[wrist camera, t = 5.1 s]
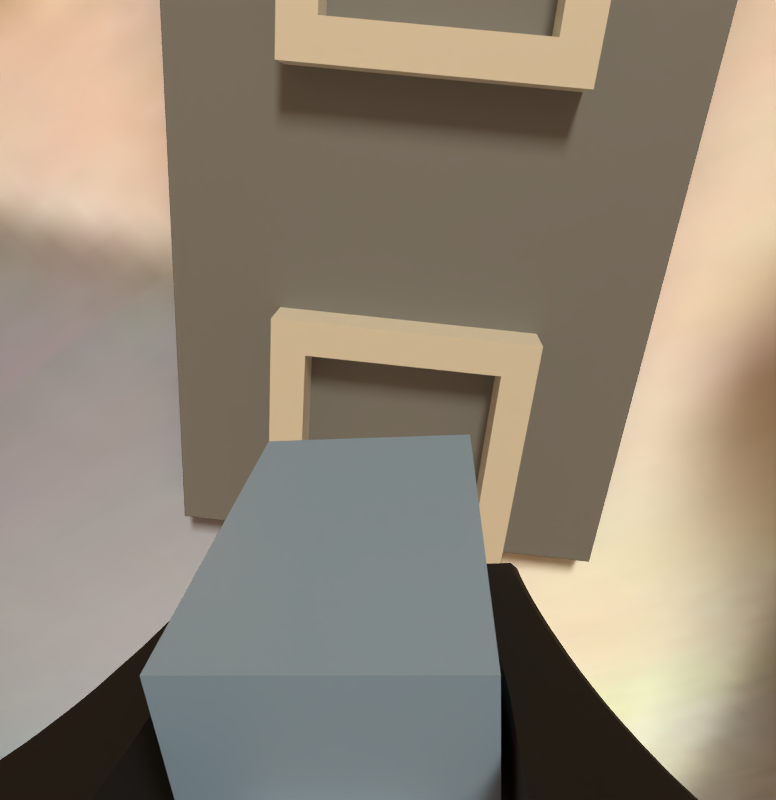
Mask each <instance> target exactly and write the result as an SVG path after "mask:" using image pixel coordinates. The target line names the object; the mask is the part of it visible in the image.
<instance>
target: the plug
mask: <svg viewBox="0 0 776 800" xmlns="http://www.w3.org/2000/svg"><path fill="white" fill-rule="evenodd" d="M140 679H141V683H142V686H143V690H144V693H145V697H146V700H147V704H148V707H149V711H150V714H151V718H152V721H153V725H154V729H155V732H156V736H157V739H158V743H159V746H160V750H161V753H162V757H163V760H164V764H165V767H166V771H167V775H168V778H169V782H170V785H171V789H172V792H173V796H174V799H175V800H501V673H500V665H499V657H498V649H497V641H496V633H495V626H494V618H493V610H492V602H491V594H490V587H489V579H488V571H487V563H486V555H485V548H484V540H483V532H482V524H481V516H480V509H479V501H478V493H477V485H476V477H475V469H474V462H473V454H472V446H471V438H470V434H469V435H440V436H410V437H380V438H351V439H321V440H291V441H269V442H268V444H267V445H266V447H265V449H264V451H263V453H262V454H261V456H260V458H259V460H258V462H257V463H256V465H255V467H254V469H253V471H252V473H251V474H250V476H249V478H248V480H247V482H246V483H245V485H244V487H243V489H242V491H241V492H240V494H239V496H238V498H237V500H236V502H235V503H234V505H233V507H232V509H231V511H230V512H229V514H228V516H227V518H226V520H225V521H224V523H223V525H222V527H221V529H220V531H219V532H218V534H217V536H216V538H215V540H214V541H213V543H212V545H211V547H210V549H209V551H208V552H207V554H206V556H205V558H204V560H203V561H202V563H201V565H200V567H199V569H198V570H197V572H196V574H195V576H194V578H193V580H192V581H191V583H190V585H189V587H188V589H187V590H186V592H185V594H184V596H183V598H182V599H181V601H180V603H179V605H178V607H177V609H176V610H175V612H174V614H173V616H172V618H171V619H170V621H169V623H168V625H167V627H166V628H165V630H164V632H163V634H162V636H161V638H160V639H159V641H158V643H157V645H156V647H155V648H154V650H153V652H152V654H151V656H150V657H149V659H148V661H147V663H146V665H145V667H144V668H143V670H142V672H141V674H140Z"/></svg>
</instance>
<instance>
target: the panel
mask: <svg viewBox="0 0 776 800" xmlns="http://www.w3.org/2000/svg"><path fill="white" fill-rule="evenodd" d="M736 4H737V0H160V11H161V31H162V52H163V73H164V93H165V114H166V135H167V155H168V176H169V197H170V217H171V238H172V259H173V279H174V300H175V321H176V341H177V362H178V382H179V403H180V424H181V444H182V465H183V486H184V506H185V516H191V517H200V518H209V519H218V520H226V518H227V516H228V514H229V512H230V511H231V509H232V507H233V505H234V503H235V502H236V500H237V498H238V496H239V494H240V492H241V491H242V489H243V487H244V485H245V483H246V482H247V480H248V478H249V476H250V474H251V473H252V471H253V469H254V467H255V465H256V463H257V462H258V460H259V458H260V456H261V454H262V453H263V451H264V449H265V447H266V445H267V444H268V442H269V441H291V440H321V439H351V438H380V437H410V436H440V435H469V434H470V438H471V446H472V454H473V462H474V469H475V477H476V485H477V493H478V501H479V509H480V516H481V524H482V532H483V540H484V548H485V555H486V563H487V564H492V563H501V559H502V554H503V552H508V553H517V554H526V555H535V556H543V557H552V558H561V559H570V560H579V561H587V562H589V559H590V555H591V551H592V548H593V544H594V540H595V536H596V532H597V529H598V525H599V521H600V517H601V514H602V510H603V506H604V502H605V499H606V495H607V491H608V487H609V483H610V480H611V476H612V472H613V468H614V465H615V461H616V457H617V453H618V449H619V446H620V442H621V438H622V434H623V431H624V427H625V423H626V419H627V415H628V412H629V408H630V404H631V400H632V397H633V393H634V389H635V385H636V382H637V378H638V374H639V370H640V366H641V363H642V359H643V355H644V351H645V348H646V344H647V340H648V336H649V332H650V329H651V325H652V321H653V317H654V314H655V310H656V306H657V302H658V299H659V295H660V291H661V287H662V283H663V280H664V276H665V272H666V268H667V265H668V261H669V257H670V253H671V249H672V246H673V242H674V238H675V234H676V231H677V227H678V223H679V219H680V216H681V212H682V208H683V204H684V200H685V197H686V193H687V189H688V185H689V182H690V178H691V174H692V170H693V166H694V163H695V159H696V155H697V151H698V148H699V144H700V140H701V136H702V132H703V129H704V125H705V121H706V117H707V114H708V110H709V106H710V102H711V99H712V95H713V91H714V87H715V83H716V80H717V76H718V72H719V68H720V65H721V61H722V57H723V53H724V49H725V46H726V42H727V38H728V34H729V31H730V27H731V23H732V19H733V16H734V12H735V8H736Z"/></svg>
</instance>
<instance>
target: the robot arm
mask: <svg viewBox="0 0 776 800" xmlns="http://www.w3.org/2000/svg"><path fill="white" fill-rule="evenodd" d="M487 571H488V579H489V587H490V594H491V602H492V610H493V618H494V626H495V633H496V641H497V649H498V657H499V665H500V673H501V800H698V799H697V798H696V797H695V796H694V795H693V794H691V793H690V792H689V791H688V790H687V789H686V788H685V787H684V786H683V785H682V784H681V783H680V782H679V781H678V780H676V779H675V778H674V777H673V776H672V775H671V774H670V773H669V772H668V771H667V770H666V769H665V768H664V767H663V766H662V765H661V764H660V763H659V762H658V760H657V759H656V758H655V757H654V756H653V755H652V754H651V753H650V752H649V751H648V750H647V749H646V748H645V747H644V746H643V745H642V744H641V743H640V742H639V741H638V739H637V738H636V737H635V736H634V735H633V734H632V733H631V732H630V731H629V729H628V728H627V727H626V726H625V725H624V724H623V723H622V722H621V721H620V719H619V718H618V717H617V716H616V715H615V714H614V712H613V711H612V710H611V709H610V708H609V707H608V705H607V704H606V703H605V702H604V700H603V699H602V698H601V697H600V696H599V694H598V693H597V692H596V691H595V689H594V688H593V687H592V685H591V684H590V683H589V682H588V680H587V679H586V678H585V676H584V675H583V674H582V673H581V671H580V670H579V669H578V667H577V666H576V665H575V663H574V662H573V660H572V659H571V658H570V656H569V655H568V653H567V652H566V651H565V649H564V648H563V646H562V645H561V643H560V642H559V640H558V639H557V637H556V636H555V635H554V633H553V632H552V630H551V629H550V627H549V626H548V624H547V622H546V621H545V619H544V618H543V616H542V614H541V613H540V611H539V609H538V608H537V606H536V604H535V603H534V601H533V599H532V598H531V596H530V594H529V592H528V590H527V589H526V587H525V585H524V583H523V581H522V579H521V577H520V574H519V572H518V570H517V568H516V567H515V566H514V565H512V564H511V563H492V564H487ZM168 623H169V622H168ZM168 623H167V624H166V625H165V626H164V627H163V628H162V629H161V630H160V631H158V632H157V633H156V634H155V635H154V636H153V637H152V638H151V639H150V640H149V641H148V642H147V643H146V644H145V645H144V646H143V647H142V648H141V649H140V650H138V651H137V652H136V653H135V654H134V655H133V656H132V657H131V658H129V659H128V660H127V661H126V662H125V663H124V664H123V665H122V666H120V667H119V668H118V669H117V670H116V671H115V672H114V673H113V674H111V675H110V676H109V677H108V678H107V679H106V680H105V681H104V682H102V683H101V684H100V685H99V686H98V687H97V688H96V689H94V690H93V691H92V692H91V693H90V694H88V695H87V696H86V697H85V698H84V699H82V700H81V701H80V702H79V703H77V704H76V705H75V706H74V707H72V708H71V709H70V710H69V711H67V712H66V713H65V714H63V715H62V716H61V717H59V718H58V719H57V720H55V721H54V722H53V723H51V724H50V725H49V726H48V727H46V728H45V729H44V730H42V731H41V732H40V733H38V734H37V735H36V736H34V737H33V738H31V739H30V740H29V741H27V742H26V743H25V744H23V745H22V746H20V747H19V748H17V749H16V750H14V751H13V752H11V753H10V754H8V755H7V756H5V757H4V758H2V759H1V760H0V800H175V799H174V796H173V792H172V789H171V785H170V782H169V778H168V775H167V771H166V767H165V764H164V760H163V757H162V753H161V750H160V746H159V743H158V739H157V736H156V732H155V729H154V725H153V721H152V718H151V714H150V711H149V707H148V704H147V700H146V697H145V693H144V690H143V686H142V683H141V679H140V674H141V672H142V670H143V668H144V667H145V665H146V663H147V661H148V659H149V657H150V656H151V654H152V652H153V650H154V648H155V647H156V645H157V643H158V641H159V639H160V638H161V636H162V634H163V632H164V630H165V628H166V627H167V625H168Z"/></svg>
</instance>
